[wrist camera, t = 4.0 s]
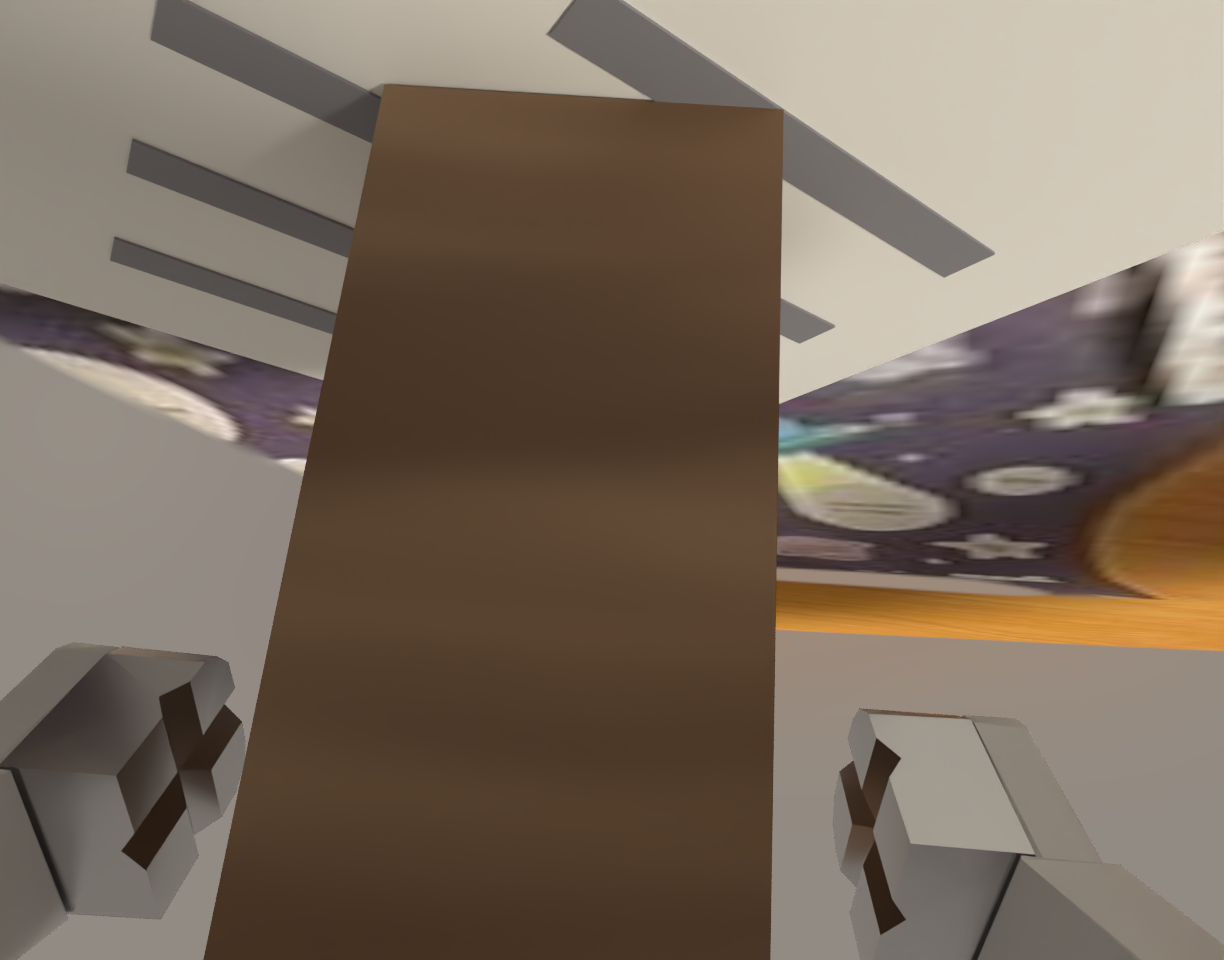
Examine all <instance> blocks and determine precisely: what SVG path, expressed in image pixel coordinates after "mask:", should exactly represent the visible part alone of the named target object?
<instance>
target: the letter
mask: <svg viewBox="0 0 1224 960" xmlns="http://www.w3.org/2000/svg"><path fill="white" fill-rule="evenodd" d="M384 85H398V86H414V87H431V88H447V89H463V90H479V91H495V92H511V93H527V94H544V95H560V96H576V97H592V98H608V99H624V100H640V101H656V102H672V103H689V104H705V105H721V106H737V107H753V108H769V109H784V119H783V182H782V246H781V309H780V372H779V404H780V403H782V402H785V401H788V400H790V399H793V398H795V397H798V396H800V395H803V394H806V393H808V392H811V391H813V390H816V389H818V388H821V387H824V386H826V385H829V384H831V383H834V382H836V381H839V380H842V379H844V378H847V377H849V376H852V375H854V374H857V373H860V372H862V371H865V370H867V369H870V368H873V367H875V366H878V365H880V364H883V363H885V362H888V361H891V360H893V359H896V358H898V357H901V356H903V355H906V354H909V353H911V352H914V351H916V350H919V349H921V348H924V347H927V346H929V345H932V344H934V343H937V342H939V341H942V340H945V339H947V338H950V337H952V336H955V335H957V334H960V333H963V332H965V331H968V330H970V329H973V328H975V327H978V326H981V325H983V324H986V323H988V322H991V321H993V320H996V319H999V318H1001V317H1004V316H1006V315H1009V314H1012V313H1014V312H1017V311H1019V310H1022V309H1024V308H1027V307H1030V306H1032V305H1035V304H1037V303H1040V302H1042V301H1045V300H1048V299H1050V298H1053V297H1055V296H1058V295H1060V294H1063V293H1066V292H1068V291H1071V290H1073V289H1076V288H1078V287H1081V286H1084V285H1086V284H1089V283H1091V282H1094V281H1096V280H1099V279H1102V278H1104V277H1107V276H1109V275H1112V274H1114V273H1117V272H1120V271H1122V270H1125V269H1127V268H1130V267H1132V266H1135V265H1138V264H1140V263H1143V262H1145V261H1148V260H1151V259H1153V258H1156V257H1158V256H1161V255H1163V254H1166V253H1169V252H1171V251H1174V250H1176V249H1179V248H1181V247H1184V246H1187V245H1189V244H1192V243H1194V242H1197V241H1199V240H1202V239H1205V238H1207V237H1210V236H1212V235H1215V234H1217V233H1220V232H1223V231H1224V0H0V283H1V284H4V285H8V286H11V287H14V288H18V289H21V290H24V291H28V292H31V293H34V294H38V295H41V296H44V297H48V298H51V299H54V300H58V301H61V302H64V303H68V304H71V305H74V306H78V307H81V308H84V309H88V310H91V311H94V312H98V313H101V314H104V315H108V316H111V317H114V318H118V319H121V320H124V321H128V322H131V323H134V324H138V325H141V326H144V327H147V328H151V329H154V330H157V331H161V332H164V333H167V334H171V335H174V336H177V337H181V338H184V339H187V340H191V341H194V342H197V343H201V344H204V345H207V346H211V347H214V348H217V349H221V350H224V351H227V352H231V353H234V354H237V355H241V356H244V357H247V358H251V359H254V360H257V361H261V362H264V363H267V364H271V365H274V366H277V367H281V368H284V369H287V370H290V371H294V372H297V373H300V374H304V375H307V376H310V377H314V378H317V379H320V380H323V379H324V374H325V369H326V364H327V359H328V354H329V350H330V345H331V340H332V335H333V330H334V325H335V321H336V316H337V311H338V306H339V301H340V296H341V291H342V287H343V282H344V277H345V272H346V267H347V262H348V258H349V253H350V248H351V243H352V238H353V233H354V228H355V224H356V219H357V214H358V209H359V204H360V199H361V195H362V190H363V185H364V180H365V175H366V170H367V165H368V161H369V156H370V151H371V146H372V141H373V136H374V132H375V127H376V122H377V117H378V112H379V107H380V102H381V98H382V93H383V88H384Z"/></svg>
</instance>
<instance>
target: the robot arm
mask: <svg viewBox="0 0 1224 960" xmlns="http://www.w3.org/2000/svg"><path fill="white" fill-rule="evenodd" d="M234 689H235V686H234V682H233V678H232V674H231V670H230V666H229V663H228V662H227V661H225V660H223V659H221V658H219V657H217V656H209V655H199V654H190V653H180V652H171V651H161V650H152V649H142V648H133V647H113V646H103V645H94V644H85V643H76V642H74V643H71V644H68V645H65V646H62V647H59V648H56V649H55V650H54V651H53V652H52V653H51V654H50V655H49V656H48V657H46V658H45V659H44V660H43V661H42V662H41V663H40V664H39V665H38V666H37V667H36V668H35V669H34V670H33V671H32V672H31V673H30V674H28V675H27V676H26V677H25V678H24V679H23V680H22V681H21V682H20V683H19V684H18V685H17V686H16V687H15V688H14V689H13V690H11V691H10V692H9V693H8V694H7V695H6V696H5V697H4V698H3V699H2V700H1V701H0V960H17V959H18V958H19V957H21V956H22V955H23V954H25V953H26V952H27V951H28V950H30V949H31V948H32V947H34V946H35V945H36V944H37V943H39V942H40V941H41V940H42V939H44V938H45V937H46V936H48V935H49V934H50V933H51V932H53V931H54V930H55V929H57V928H58V927H59V926H60V925H62V924H63V923H64V922H66V921H67V920H68V916H67V914H78V915H94V916H95V915H96V916H111V917H127V918H129V917H130V918H144V919H161V918H162V917H163V915H164V913H165V911H166V910H167V908H168V907H169V905H170V903H171V901H172V900H173V898H174V897H175V895H176V893H177V891H178V890H179V888H180V887H181V885H182V883H183V881H184V880H185V878H186V876H187V875H188V873H189V871H190V870H191V868H192V866H193V865H194V863H195V861H196V860H197V858H198V856H199V855H198V850H197V845H196V839H195V834H197V833H198V832H200V831H201V830H203V829H204V828H206V827H207V826H209V825H210V824H212V823H213V822H215V821H216V820H218V819H219V818H221V817H222V816H223V814H224V812H225V810H226V808H227V807H228V805H229V803H230V802H231V800H232V798H233V796H234V794H235V793H236V790H237V786H238V783H239V780H240V776H241V773H242V770H243V766H244V762H245V736H244V730H243V725H242V721H241V720H240V719H238V717H236V715H235V714H234V713H232V711H231V710H230V709H229V708H228V707H227V706H226V705H225V702H226V700H227V699H228V698H229V696H230V695H231V693H232V692H233V690H234ZM848 740H849V744H850V748H851V752H852V756H853V759H854V761H852V762H851V763H850V764H848V765H847V766H846V767H845V768H844V769H842V770H841V771H840V772H839V776H838V781H837V786H836V790H835V795H834V815H833V828H834V838H835V846H836V852H837V857H838V862H839V866H840V870H841V871H842V873H843V874H845V876H846V877H847V878H848V879H849V880H850V881H851V882H852V883H853V884H854V885H855V886H856V888H857V889H856V892H855V896H854V900H853V903H852V907H851V911H850V916H851V921H852V925H853V929H854V934H855V938H856V942H857V947H858V951H859V955H860V960H1224V945H1223V944H1222V943H1221V942H1220V941H1218V940H1217V939H1216V938H1215V937H1213V936H1212V935H1211V934H1209V933H1208V932H1207V931H1206V930H1204V929H1203V928H1202V927H1200V926H1199V925H1198V924H1196V923H1195V922H1194V921H1192V920H1191V919H1190V918H1189V917H1187V916H1186V915H1185V914H1184V913H1182V912H1181V911H1180V910H1178V909H1177V908H1176V907H1175V906H1173V905H1172V904H1171V903H1169V902H1168V901H1167V900H1165V899H1164V898H1163V897H1162V896H1160V895H1159V894H1158V893H1156V892H1155V891H1154V890H1152V889H1151V888H1150V887H1149V886H1147V885H1146V884H1145V883H1144V882H1142V881H1141V880H1140V879H1138V878H1137V877H1136V876H1135V875H1133V874H1132V873H1131V872H1129V871H1128V870H1127V869H1125V868H1124V867H1123V866H1122V865H1117V864H1108V863H1103V862H1102V860H1101V858H1100V857H1099V855H1098V853H1097V851H1096V849H1095V847H1094V846H1093V844H1092V842H1091V840H1090V839H1089V837H1088V835H1087V833H1086V832H1085V830H1084V828H1083V826H1082V824H1081V823H1080V821H1079V819H1078V817H1077V816H1076V814H1075V812H1074V810H1073V809H1072V807H1071V805H1070V803H1069V802H1068V800H1067V798H1066V796H1065V795H1064V793H1063V791H1062V789H1061V787H1060V786H1059V784H1058V782H1057V781H1056V778H1055V777H1054V775H1053V773H1052V771H1051V770H1050V768H1049V766H1048V764H1047V763H1046V761H1045V759H1044V757H1043V756H1042V754H1041V752H1040V750H1039V748H1038V747H1037V745H1036V743H1035V742H1034V739H1033V738H1032V736H1031V734H1030V733H1029V731H1028V729H1027V727H1026V726H1025V725H1024V724H1022V723H1021V722H1020V721H1019V720H1017V719H1016V718H999V717H983V716H967V715H964V716H962V717H960V716H955V715H942V714H928V713H915V712H901V711H888V710H874V709H860V708H859V710H858V712H857V713H856V715H855V717H854V718H853V721H852V725H851V728H850V732H849V736H848Z"/></svg>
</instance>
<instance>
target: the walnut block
mask: <svg viewBox="0 0 1224 960" xmlns="http://www.w3.org/2000/svg"><path fill="white" fill-rule="evenodd" d="M783 119H784V109H769V108H753V107H737V106H721V105H705V104H689V103H672V102H656V101H640V100H624V99H608V98H592V97H576V96H560V95H544V94H527V93H511V92H495V91H479V90H463V89H447V88H431V87H414V86H398V85H384V88H383V93H382V98H381V102H380V107H379V112H378V117H377V122H376V127H375V132H374V136H373V141H372V146H371V151H370V156H369V161H368V165H367V170H366V175H365V180H364V185H363V190H362V195H361V199H360V204H359V209H358V214H357V219H356V224H355V228H354V233H353V238H352V243H351V248H350V253H349V258H348V262H347V267H346V272H345V277H344V282H343V287H342V291H341V296H340V301H339V306H338V311H337V316H336V321H335V325H334V330H333V335H332V340H331V345H330V350H329V354H328V359H327V364H326V369H325V374H324V379H323V384H322V388H321V393H320V398H319V403H318V408H317V413H316V417H315V422H314V427H313V432H312V437H311V442H310V447H309V451H308V456H307V461H306V466H305V471H304V476H303V481H302V486H301V491H300V495H299V500H298V505H297V510H296V514H295V519H294V524H293V529H292V534H291V539H290V543H289V549H288V554H287V558H286V563H285V568H284V573H283V578H282V582H281V588H280V592H279V597H278V602H277V606H276V611H275V616H274V621H273V626H272V631H271V636H270V640H269V645H268V650H267V655H266V660H265V665H264V669H263V675H262V679H261V684H260V689H259V694H258V699H257V703H256V708H255V713H254V718H253V723H252V728H251V732H250V738H249V742H248V747H247V752H246V757H245V762H244V766H243V771H242V776H241V781H240V786H239V791H238V796H237V800H236V805H235V810H234V815H233V820H232V825H231V829H230V834H229V839H228V844H227V849H226V854H225V859H224V863H223V868H222V873H221V878H220V883H219V888H218V893H217V897H216V902H215V907H214V912H213V917H212V921H211V926H210V932H209V936H208V941H207V946H206V951H205V956H204V960H770V943H771V942H770V939H771V879H772V873H771V872H772V816H773V753H774V752H773V751H774V750H773V749H774V687H775V626H776V562H777V499H778V436H779V372H780V309H781V246H782V182H783Z"/></svg>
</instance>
